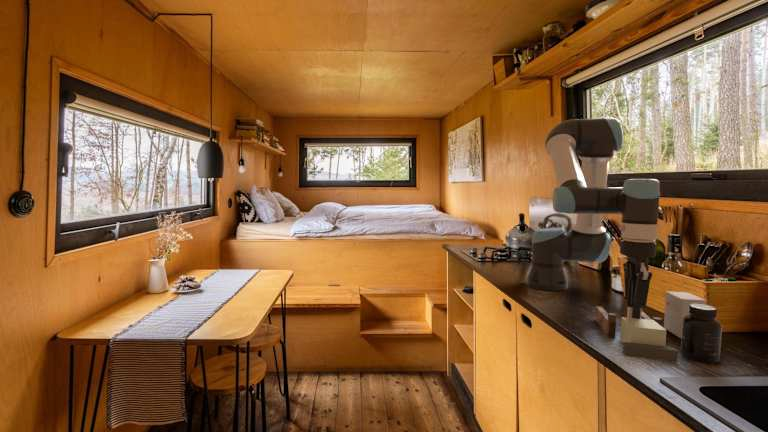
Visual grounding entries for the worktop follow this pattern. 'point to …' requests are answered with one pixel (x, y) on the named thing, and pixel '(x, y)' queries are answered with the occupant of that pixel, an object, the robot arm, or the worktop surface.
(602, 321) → the chute
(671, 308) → the small box
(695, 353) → the supplement bottle
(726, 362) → the worktop surface
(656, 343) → the block
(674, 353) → the bar
